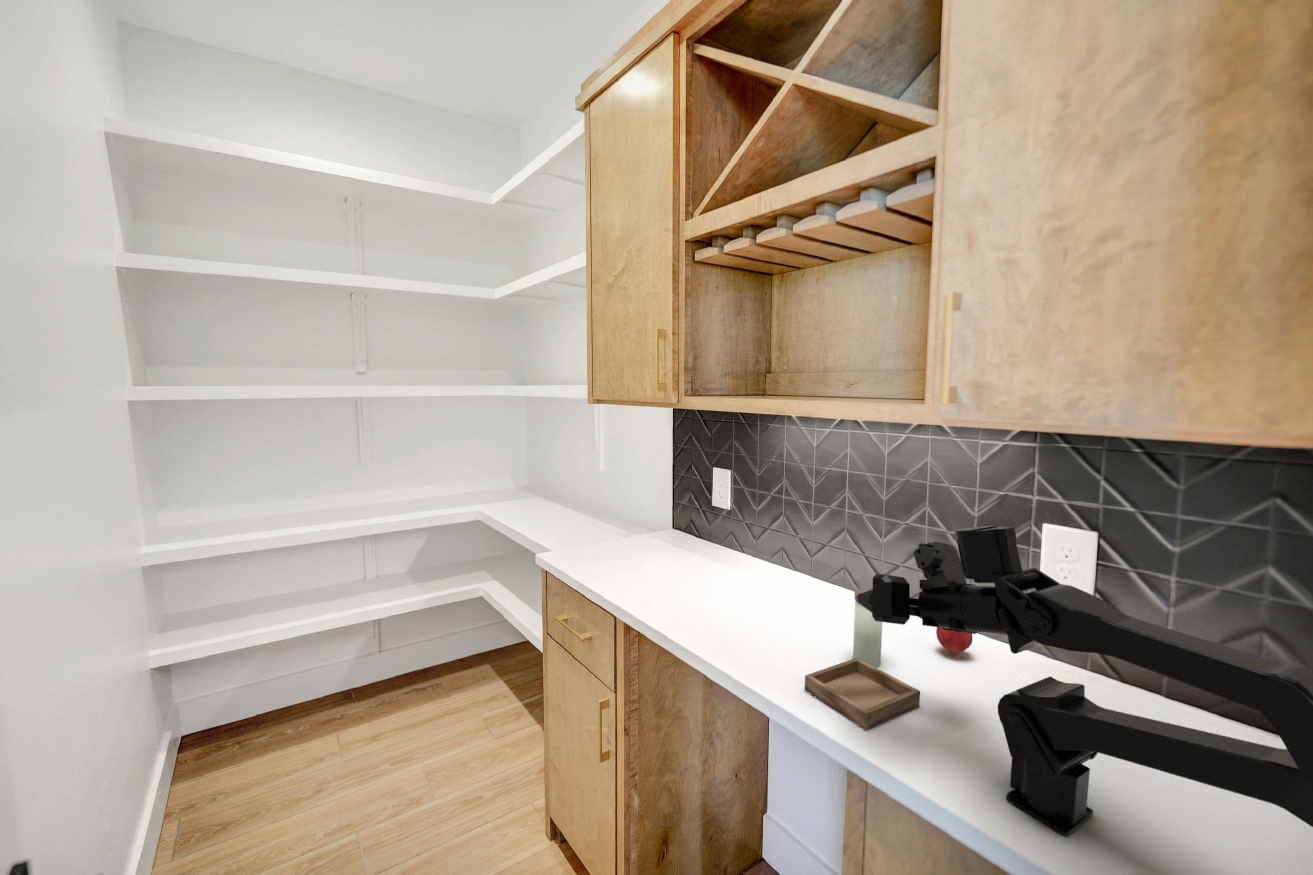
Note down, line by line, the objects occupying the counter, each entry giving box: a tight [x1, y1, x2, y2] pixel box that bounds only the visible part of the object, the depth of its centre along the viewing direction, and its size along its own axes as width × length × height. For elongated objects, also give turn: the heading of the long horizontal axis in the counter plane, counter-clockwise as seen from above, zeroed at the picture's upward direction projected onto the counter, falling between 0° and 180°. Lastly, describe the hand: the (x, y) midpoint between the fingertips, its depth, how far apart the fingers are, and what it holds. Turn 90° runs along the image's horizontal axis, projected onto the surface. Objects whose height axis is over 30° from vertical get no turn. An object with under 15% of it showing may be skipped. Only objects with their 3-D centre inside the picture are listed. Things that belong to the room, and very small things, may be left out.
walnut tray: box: [804, 658, 921, 731], centre depth 88 cm, size 12×12×2 cm
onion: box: [935, 627, 974, 656], centre depth 102 cm, size 6×6×8 cm
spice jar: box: [852, 587, 883, 669], centre depth 99 cm, size 5×5×12 cm
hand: (880, 601), depth 86 cm, fingers open, 9 cm apart
